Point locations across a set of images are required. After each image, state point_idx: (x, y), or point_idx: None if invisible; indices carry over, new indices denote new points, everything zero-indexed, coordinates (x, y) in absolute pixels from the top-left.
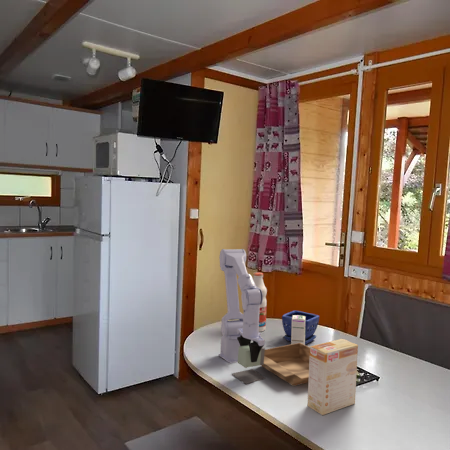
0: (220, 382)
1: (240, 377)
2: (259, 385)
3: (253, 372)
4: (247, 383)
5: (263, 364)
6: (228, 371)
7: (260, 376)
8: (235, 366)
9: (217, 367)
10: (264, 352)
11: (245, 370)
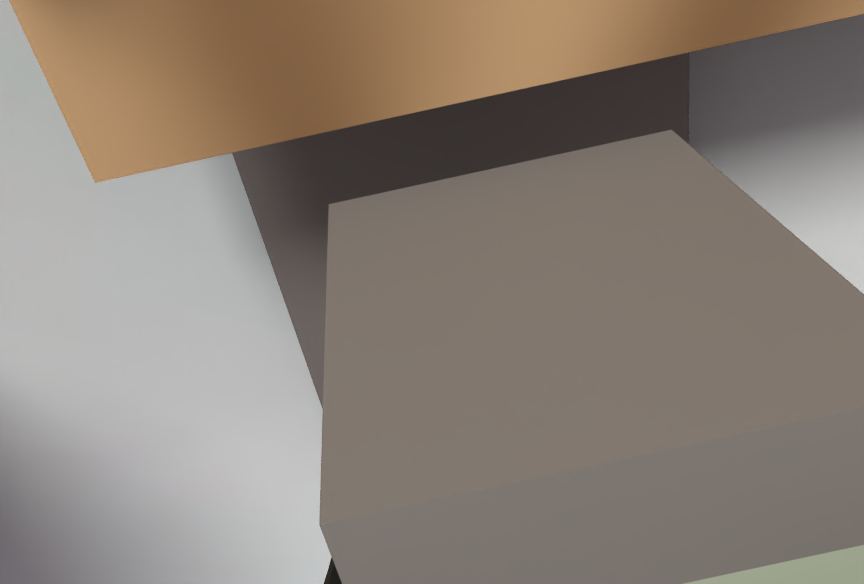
0: None
1: None
2: (800, 215)
3: (388, 163)
4: None
5: (676, 137)
6: (226, 462)
7: (581, 104)
8: (35, 338)
9: (69, 549)
10: (849, 285)
11: (273, 263)
